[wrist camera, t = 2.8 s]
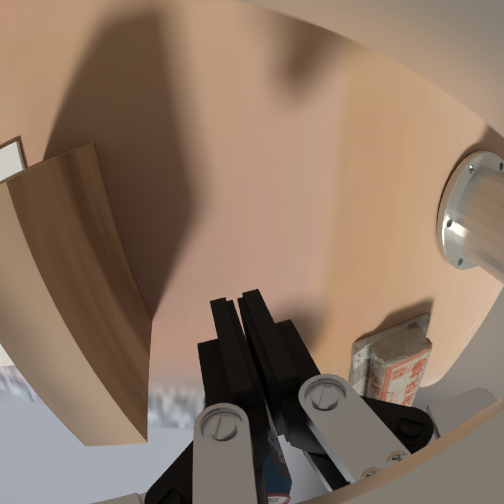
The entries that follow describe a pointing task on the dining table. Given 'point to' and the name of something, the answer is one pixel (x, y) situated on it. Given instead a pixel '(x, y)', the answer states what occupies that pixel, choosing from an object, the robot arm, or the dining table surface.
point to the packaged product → (391, 362)
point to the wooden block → (73, 300)
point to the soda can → (276, 471)
